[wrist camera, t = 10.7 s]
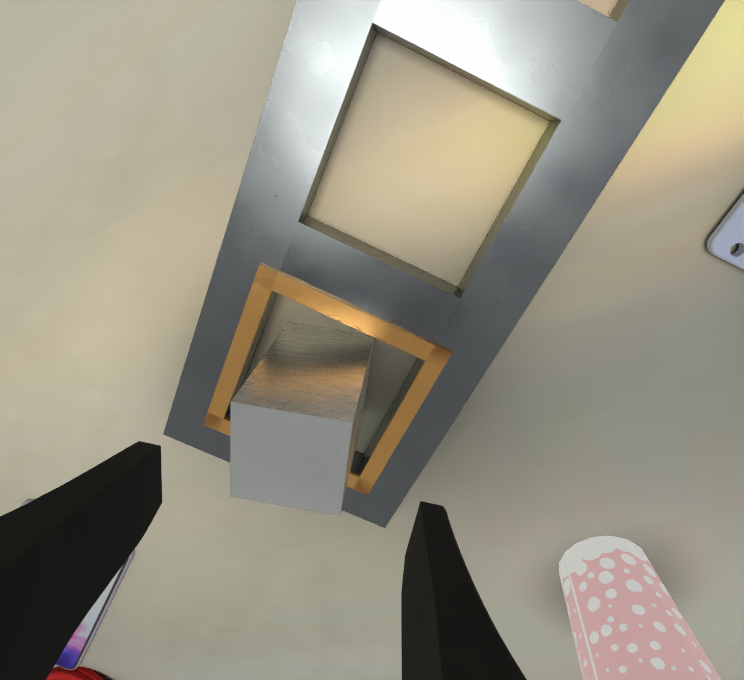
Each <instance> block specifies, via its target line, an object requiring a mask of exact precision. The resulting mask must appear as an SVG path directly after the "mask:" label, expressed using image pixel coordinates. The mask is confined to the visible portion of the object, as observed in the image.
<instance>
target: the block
mask: <svg viewBox="0 0 744 680" xmlns="http://www.w3.org/2000/svg"><path fill="white" fill-rule="evenodd" d="M373 344H374V337H372V336H370V335H365V334H359V333H352V332H346V331H340V330H334V329H328V328H322V327H315V326H309V325H303V324H297V323H291V322H288V324H287V325H286V327H285V328H284V329H283V331H282V332H281V333H280V335H279V336H278V337H277V339H276V340H275V342H274V343H273V344H272V346H271V347H270V348H269V350H268V351H267V353H266V354H265V355H264V357H263V358H262V359H261V361H260V362H259V363H258V365H257V366H256V368H255V369H254V370H253V372H252V373H251V374H250V376H249V377H248V379H247V380H246V381H245V383H244V384H243V385H242V387H241V388H240V389H239V391H238V392H237V394H236V395H235V396H234V398H233V399H232V400H231V410H230V496H231V497H236V498H242V499H247V500H253V501H259V502H264V503H270V504H275V505H281V506H286V507H292V508H298V509H303V510H309V511H314V512H320V513H325V514H331V515H336V516H340V514H341V510H342V505H343V501H344V496H345V492H346V487H347V483H348V479H349V474H350V470H351V465H352V461H353V456H354V452H355V447H356V443H357V439H358V434H359V430H360V425H361V421H362V416H363V412H364V406H365V399H366V392H367V385H368V379H369V372H370V365H371V358H372V351H373Z"/></svg>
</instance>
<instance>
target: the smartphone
mask: <svg viewBox="0 0 744 680" xmlns="http://www.w3.org/2000/svg"><path fill="white" fill-rule="evenodd" d="M33 500H35V499H28V500H27V501H25V502H24V503H23V504H22V505H21V506H23V505H25V504H27V503H29V502H31V501H33ZM134 554H135V551H134V550H133V552H132V553H131V554H130V556H129V557H128V558H127V560H126V561H125V563H124V564H123V565H122V567H121V568H120V570H119V571H118V572H117V574H116V575H115V576H114V578H113V579H112V580H111V582H110V583H109V585H108V586H107V587H106V589H105V590H104V591H103V593H102V594H101V596H100V597H99V598H98V600H97V601H96V602H95V604H94V605H93V607H92V608H91V609H90V611H89V612H88V613H87V615H86V616H85V618H84V619H83V621H82V622H81V624H80V625H79V627H78V628H77V629H76V631H75V632H74V634H73V636H72V637H71V639H70V641H69V642H68V644H67V645H66V647H65V649H64V650H63V652H62V654H61V655H60V657H59V659H58V660H57V662H56V664H55V665H57V666H59V667H62V668H64V669H68V670H74V669H76V668H77V667H78V666H79V665H80V664H81V662H82V660H83V658H84V656H85V654H86V652H87V650H88V648H89V646H90V644H91V642H92V640H93V638H94V636H95V634H96V631H97V629H98V627H99V625H100V623H101V621H102V619H103V617H104V615H105V613H106V611H107V609H108V607H109V605H110V603H111V601H112V599H113V597H114V595H115V593H116V591H117V589H118V587H119V585H120V583H121V581H122V579H123V577H124V575H125V573H126V571H127V569H128V567H129V565H130V563H131V561H132V559H133V557H134Z"/></svg>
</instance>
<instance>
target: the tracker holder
mask: <svg viewBox="0 0 744 680" xmlns="http://www.w3.org/2000/svg"><path fill="white" fill-rule="evenodd" d="M46 680H104V679H103V678H102V677H101V676H100V675H98V674H97V673H96V672H94V671H93V670H91V669H89V668H85V667H79V666H78V667H77V668H76V669H74V670H68V669H64V668H62V667H57V668H54V669H52V670H51V672H50V674H49V675H48V677H47V679H46Z"/></svg>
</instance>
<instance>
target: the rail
mask: <svg viewBox="0 0 744 680" xmlns="http://www.w3.org/2000/svg"><path fill="white" fill-rule="evenodd" d="M724 1H725V0H619V1H618V2H617V4H616V6H615V8H614V10H613V11H612V13H611V15H610V17H607V16H605V15H603V14H601V13H599V12H598V11H596V10H594V9H592V8H590V7H588V6H587V5H585V4H583V3H581V2H579V1H577V0H297V2H296V5H295V8H294V11H293V15H292V18H291V21H290V24H289V28H288V31H287V34H286V37H285V41H284V44H283V47H282V50H281V54H280V57H279V60H278V63H277V67H276V70H275V73H274V76H273V80H272V83H271V86H270V89H269V93H268V96H267V99H266V102H265V106H264V109H263V112H262V115H261V119H260V122H259V125H258V128H257V132H256V135H255V138H254V141H253V145H252V148H251V151H250V154H249V158H248V161H247V164H246V167H245V171H244V174H243V177H242V180H241V184H240V187H239V190H238V193H237V197H236V200H235V203H234V206H233V210H232V213H231V216H230V219H229V223H228V226H227V229H226V232H225V236H224V239H223V242H222V245H221V249H220V252H219V255H218V258H217V262H216V265H215V268H214V271H213V274H212V278H211V281H210V284H209V287H208V291H207V294H206V297H205V300H204V304H203V307H202V310H201V313H200V317H199V320H198V323H197V326H196V330H195V333H194V336H193V339H192V343H191V346H190V349H189V352H188V356H187V359H186V362H185V365H184V369H183V372H182V375H181V378H180V382H179V385H178V388H177V391H176V395H175V398H174V401H173V404H172V408H171V411H170V414H169V417H168V421H167V424H166V427H165V430H164V435H166V436H169V437H171V438H173V439H176V440H178V441H181V442H183V443H185V444H188V445H190V446H192V447H195V448H197V449H199V450H202V451H204V452H206V453H209V454H211V455H214V456H216V457H218V458H221V459H223V460H225V461H228V462H230V410H231V400H232V399H233V398H234V396H235V395H236V394H237V392H238V391H239V389H240V388H241V387H242V385H243V383H244V380H245V377H246V375H247V372H248V369H249V367H250V364H251V361H252V359H253V356H254V354H255V351H256V348H257V346H258V343H259V340H260V338H261V335H262V333H263V330H264V327H265V325H266V322H267V319H268V317H269V314H270V311H271V309H272V306H273V304H274V301H275V298H276V296H277V293H278V294H281V295H283V296H285V297H287V298H289V299H291V300H294V301H296V302H298V303H300V304H302V305H305V306H307V307H309V308H311V309H313V310H316V311H318V312H320V313H322V314H324V315H326V316H329V317H331V318H333V319H335V320H337V321H340V322H342V323H344V324H346V325H348V326H350V327H353V328H355V329H357V330H359V331H361V332H364V333H366V334H368V335H370V336H372V337H374V338H377V339H379V340H381V341H383V342H385V343H388V344H390V345H392V346H394V347H396V348H398V349H401V350H403V351H405V352H407V353H409V354H412V355H414V356H416V357H418V359H417V361H416V363H415V364H414V366H413V368H412V370H411V371H410V373H409V375H408V377H407V379H406V380H405V382H404V384H403V386H402V388H401V389H400V391H399V393H398V395H397V396H396V398H395V400H394V402H393V404H392V405H391V407H390V409H389V411H388V412H387V414H386V416H385V418H384V420H383V421H382V423H381V425H380V427H379V429H378V430H377V432H376V434H375V436H374V437H373V439H372V441H371V443H370V445H369V446H368V448H367V450H366V452H365V454H364V455H362V454H360V453H357V452H354V456H353V461H352V465H351V470H350V474H349V479H348V483H347V487H346V492H345V496H344V501H343V505H342V510H343V511H346V512H348V513H351V514H353V515H355V516H358V517H360V518H362V519H365V520H367V521H369V522H372V523H374V524H377V525H379V526H381V527H384V528H385V527H386V525H387V524H388V522H389V521H390V519H391V518H392V516H393V515H394V513H395V511H396V510H397V508H398V507H399V505H400V504H401V502H402V501H403V499H404V497H405V496H406V494H407V493H408V491H409V490H410V488H411V487H412V485H413V484H414V482H415V480H416V479H417V477H418V476H419V474H420V473H421V471H422V470H423V468H424V466H425V465H426V463H427V462H428V460H429V459H430V457H431V456H432V454H433V452H434V451H435V449H436V448H437V446H438V445H439V443H440V442H441V440H442V439H443V437H444V435H445V434H446V432H447V431H448V429H449V428H450V426H451V425H452V423H453V421H454V420H455V418H456V417H457V415H458V414H459V412H460V411H461V409H462V407H463V406H464V404H465V403H466V401H467V400H468V398H469V397H470V395H471V393H472V392H473V390H474V389H475V387H476V386H477V384H478V383H479V381H480V380H481V378H482V376H483V375H484V373H485V372H486V370H487V369H488V367H489V366H490V364H491V362H492V361H493V359H494V358H495V356H496V355H497V353H498V352H499V350H500V348H501V347H502V345H503V344H504V342H505V341H506V339H507V338H508V336H509V335H510V333H511V331H512V330H513V328H514V327H515V325H516V324H517V322H518V321H519V319H520V317H521V316H522V314H523V313H524V311H525V310H526V308H527V307H528V305H529V303H530V302H531V300H532V299H533V297H534V296H535V294H536V293H537V291H538V290H539V288H540V286H541V285H542V283H543V282H544V280H545V279H546V277H547V276H548V274H549V272H550V271H551V269H552V268H553V266H554V265H555V263H556V262H557V260H558V258H559V257H560V255H561V254H562V252H563V251H564V249H565V248H566V246H567V244H568V243H569V241H570V240H571V238H572V237H573V235H574V234H575V232H576V231H577V229H578V227H579V226H580V224H581V223H582V221H583V220H584V218H585V217H586V215H587V213H588V212H589V210H590V209H591V207H592V206H593V204H594V203H595V201H596V199H597V198H598V196H599V195H600V193H601V192H602V190H603V189H604V187H605V186H606V184H607V182H608V181H609V179H610V178H611V176H612V175H613V173H614V172H615V170H616V168H617V167H618V165H619V164H620V162H621V161H622V159H623V158H624V156H625V154H626V153H627V151H628V150H629V148H630V147H631V145H632V144H633V142H634V141H635V139H636V137H637V136H638V134H639V133H640V131H641V130H642V128H643V127H644V125H645V123H646V122H647V120H648V119H649V117H650V116H651V114H652V113H653V111H654V109H655V108H656V106H657V105H658V103H659V102H660V100H661V99H662V97H663V95H664V94H665V92H666V91H667V89H668V88H669V86H670V85H671V83H672V82H673V80H674V78H675V77H676V75H677V74H678V72H679V71H680V69H681V68H682V66H683V64H684V63H685V61H686V60H687V58H688V57H689V55H690V54H691V52H692V50H693V49H694V47H695V46H696V44H697V43H698V41H699V40H700V38H701V37H702V35H703V33H704V32H705V30H706V29H707V27H708V26H709V24H710V23H711V21H712V19H713V18H714V16H715V15H716V13H717V12H718V10H719V9H720V7H721V5H722V4H723V2H724ZM377 32H378V33H380V34H382V35H384V36H386V37H388V38H390V39H392V40H394V41H396V42H398V43H400V44H402V45H403V46H405V47H407V48H409V49H411V50H413V51H415V52H417V53H419V54H421V55H423V56H425V57H427V58H429V59H431V60H433V61H435V62H436V63H438V64H440V65H442V66H444V67H446V68H448V69H450V70H452V71H454V72H456V73H458V74H460V75H462V76H464V77H466V78H468V79H469V80H471V81H473V82H475V83H477V84H479V85H481V86H483V87H485V88H487V89H489V90H491V91H493V92H495V93H497V94H499V95H501V96H502V97H504V98H506V99H508V100H510V101H512V102H514V103H516V104H518V105H520V106H522V107H524V108H526V109H528V110H530V111H532V112H534V113H535V114H537V115H539V116H541V117H543V118H545V119H547V120H549V121H551V122H550V124H549V125H548V127H547V129H546V131H545V133H544V134H543V136H542V138H541V140H540V141H539V143H538V145H537V147H536V149H535V150H534V152H533V154H532V156H531V158H530V159H529V161H528V163H527V165H526V166H525V168H524V170H523V172H522V174H521V175H520V177H519V179H518V181H517V182H516V184H515V186H514V188H513V190H512V191H511V193H510V195H509V197H508V199H507V200H506V202H505V204H504V206H503V207H502V209H501V211H500V213H499V215H498V216H497V218H496V220H495V222H494V223H493V225H492V227H491V229H490V231H489V232H488V234H487V236H486V238H485V240H484V241H483V243H482V245H481V247H480V248H479V250H478V252H477V254H476V256H475V257H474V259H473V261H472V263H471V265H470V266H469V268H468V270H467V272H466V273H465V275H464V277H463V279H462V281H461V282H460V284H459V286H458V287H457V286H455V285H452V284H450V283H448V282H446V281H444V280H442V279H440V278H438V277H436V276H433V275H431V274H429V273H427V272H425V271H423V270H421V269H419V268H417V267H415V266H412V265H410V264H408V263H406V262H404V261H402V260H400V259H398V258H396V257H393V256H391V255H389V254H387V253H385V252H383V251H381V250H379V249H377V248H374V247H372V246H370V245H368V244H366V243H364V242H362V241H360V240H358V239H356V238H353V237H351V236H349V235H347V234H345V233H343V232H341V231H339V230H337V229H334V228H332V227H330V226H328V225H326V224H324V223H322V222H320V221H318V220H316V219H313V218H311V217H309V216H307V214H308V212H309V209H310V206H311V204H312V201H313V198H314V196H315V193H316V190H317V188H318V185H319V183H320V180H321V177H322V175H323V172H324V169H325V167H326V164H327V162H328V159H329V156H330V154H331V151H332V148H333V146H334V143H335V140H336V138H337V135H338V133H339V130H340V127H341V125H342V122H343V119H344V117H345V114H346V112H347V109H348V106H349V104H350V101H351V98H352V96H353V93H354V91H355V88H356V85H357V83H358V80H359V77H360V75H361V72H362V69H363V67H364V64H365V62H366V59H367V56H368V54H369V51H370V48H371V46H372V43H373V41H374V38H375V35H376V33H377Z"/></svg>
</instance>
